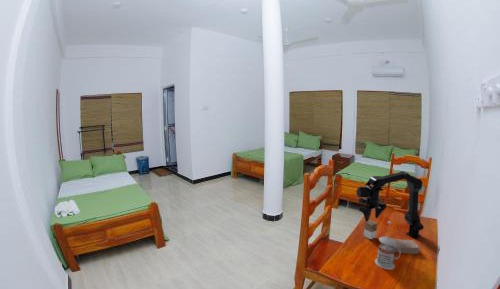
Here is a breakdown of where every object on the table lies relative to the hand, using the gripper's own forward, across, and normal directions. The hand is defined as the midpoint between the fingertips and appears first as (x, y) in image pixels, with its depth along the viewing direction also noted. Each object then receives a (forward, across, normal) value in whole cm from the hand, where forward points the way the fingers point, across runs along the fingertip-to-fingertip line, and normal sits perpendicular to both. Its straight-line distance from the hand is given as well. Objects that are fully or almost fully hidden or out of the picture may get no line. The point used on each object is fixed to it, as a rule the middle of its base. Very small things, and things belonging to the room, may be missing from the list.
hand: (371, 219), depth 166 cm
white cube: (+12, 0, 0) cm, 12 cm away
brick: (+12, -5, +18) cm, 22 cm away
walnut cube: (+7, 0, 0) cm, 7 cm away
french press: (+12, +16, +23) cm, 30 cm away
